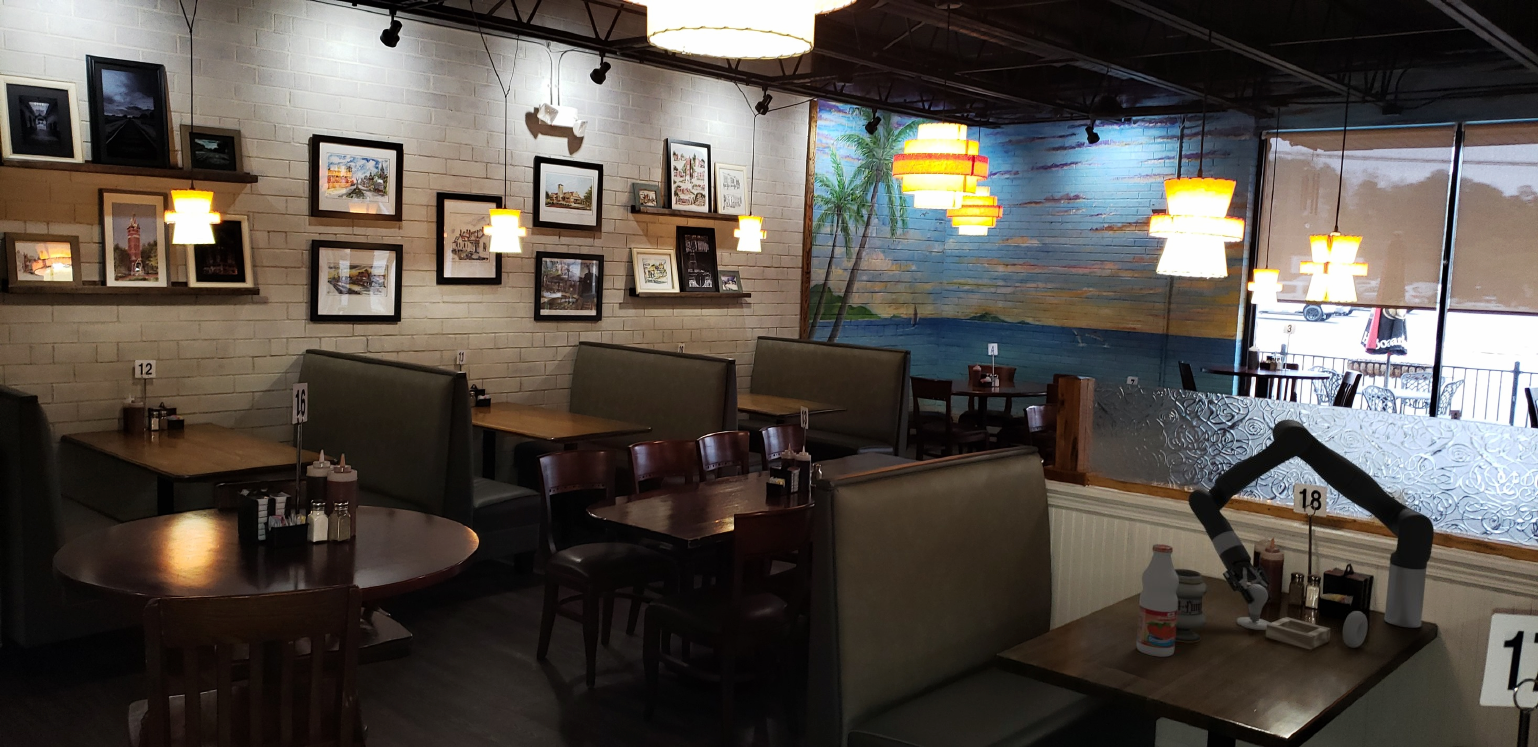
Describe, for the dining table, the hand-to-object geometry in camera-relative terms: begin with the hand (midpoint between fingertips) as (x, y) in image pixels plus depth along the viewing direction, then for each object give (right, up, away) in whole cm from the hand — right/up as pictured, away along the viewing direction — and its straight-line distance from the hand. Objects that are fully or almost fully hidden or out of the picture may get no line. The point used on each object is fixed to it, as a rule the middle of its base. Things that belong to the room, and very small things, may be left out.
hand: (1260, 601), depth 303 cm
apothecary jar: (-27, -7, -11) cm, 30 cm away
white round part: (-1, -7, +2) cm, 7 cm away
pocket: (+6, -8, -9) cm, 14 cm away
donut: (+19, -10, -14) cm, 25 cm away
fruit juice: (-38, -8, -23) cm, 46 cm away
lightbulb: (-1, -6, +2) cm, 7 cm away
